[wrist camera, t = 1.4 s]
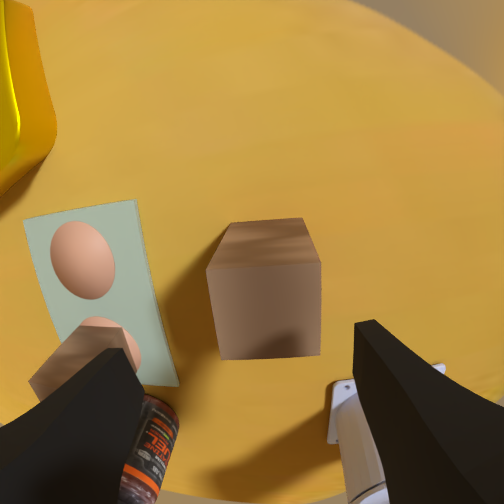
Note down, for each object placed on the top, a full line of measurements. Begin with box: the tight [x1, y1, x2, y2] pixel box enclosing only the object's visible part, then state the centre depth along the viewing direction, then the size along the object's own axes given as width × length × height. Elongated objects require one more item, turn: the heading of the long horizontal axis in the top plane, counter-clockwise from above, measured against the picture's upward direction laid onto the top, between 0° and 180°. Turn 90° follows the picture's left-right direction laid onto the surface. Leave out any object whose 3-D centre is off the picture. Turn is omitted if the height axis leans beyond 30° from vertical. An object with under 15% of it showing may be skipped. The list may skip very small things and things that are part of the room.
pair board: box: [23, 199, 180, 387], centre depth 20 cm, size 10×14×1 cm
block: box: [28, 325, 137, 402], centre depth 17 cm, size 4×4×7 cm
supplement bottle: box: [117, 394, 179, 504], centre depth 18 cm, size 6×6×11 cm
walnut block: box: [206, 218, 321, 360], centre depth 14 cm, size 4×4×7 cm
